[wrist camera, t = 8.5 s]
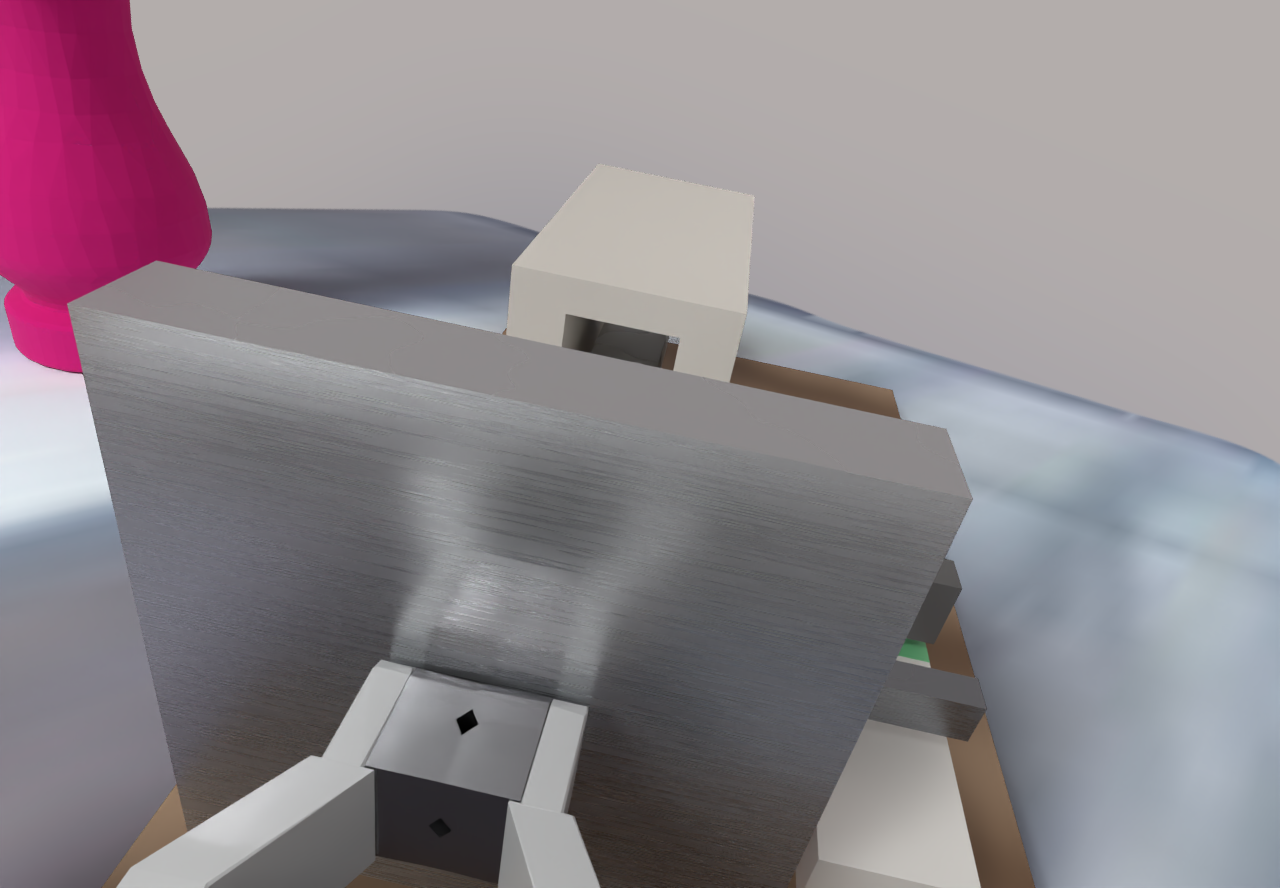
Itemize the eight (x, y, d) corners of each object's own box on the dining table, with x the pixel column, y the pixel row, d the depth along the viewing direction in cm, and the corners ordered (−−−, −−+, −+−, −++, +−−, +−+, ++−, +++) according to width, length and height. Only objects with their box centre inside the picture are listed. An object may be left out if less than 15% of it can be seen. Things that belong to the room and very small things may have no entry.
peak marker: (933, 644, 19) (962, 588, 18) (810, 616, 19) (832, 560, 18) (927, 615, 20) (953, 561, 19) (808, 589, 20) (829, 533, 19)
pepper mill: (120, 403, 27) (-53, -439, 16) (-56, 346, 28) (-323, -477, 18) (264, 327, 33) (204, -324, 22) (115, 283, 34) (-8, -358, 24)
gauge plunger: (981, 1021, 14) (1354, 581, 8) (187, 834, 14) (67, 303, 9) (864, 436, 30) (963, 168, 25) (505, 360, 31) (528, 80, 26)
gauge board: (1162, 1485, 11) (1203, 1473, 10) (-65, 1175, 11) (-88, 1149, 11) (884, 409, 36) (892, 390, 36) (516, 331, 37) (518, 310, 36)
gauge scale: (952, 940, 15) (983, 896, 14) (796, 903, 15) (819, 859, 14) (872, 511, 27) (887, 474, 26) (785, 492, 27) (796, 455, 26)
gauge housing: (688, 546, 24) (746, 314, 20) (491, 503, 24) (512, 264, 20) (712, 371, 34) (754, 195, 30) (574, 342, 34) (598, 163, 30)
